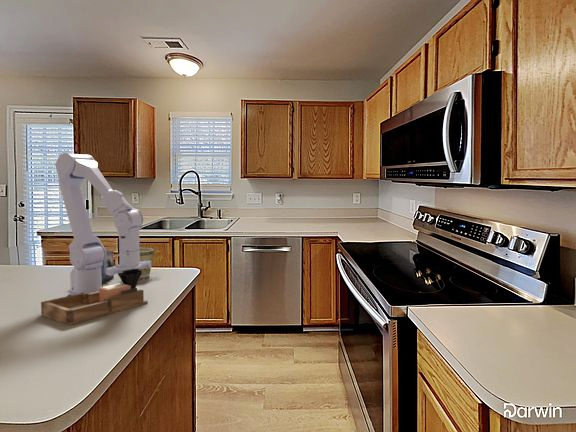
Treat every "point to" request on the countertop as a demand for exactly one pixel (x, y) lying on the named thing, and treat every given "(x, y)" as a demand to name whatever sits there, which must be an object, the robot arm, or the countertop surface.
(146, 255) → the ceramic cup
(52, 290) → the countertop surface
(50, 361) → the countertop surface
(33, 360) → the countertop surface
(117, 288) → the block
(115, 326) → the countertop surface
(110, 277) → the small box
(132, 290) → the wooden tray
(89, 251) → the robot arm
